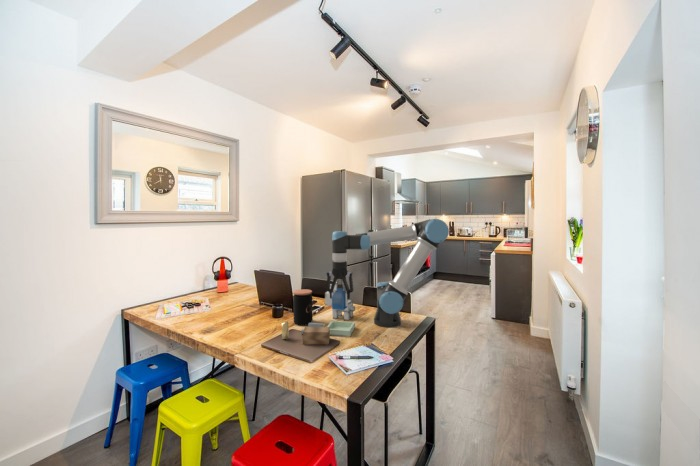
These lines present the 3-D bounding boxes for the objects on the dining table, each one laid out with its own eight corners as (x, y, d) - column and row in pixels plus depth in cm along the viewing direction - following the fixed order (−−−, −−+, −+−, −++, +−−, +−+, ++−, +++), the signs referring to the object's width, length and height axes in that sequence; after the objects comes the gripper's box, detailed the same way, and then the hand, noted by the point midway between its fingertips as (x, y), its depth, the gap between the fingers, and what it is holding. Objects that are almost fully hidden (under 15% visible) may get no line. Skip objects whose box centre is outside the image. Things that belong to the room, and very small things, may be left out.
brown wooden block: (329, 338, 144) (329, 326, 144) (328, 344, 137) (328, 332, 137) (305, 339, 144) (305, 327, 144) (302, 345, 137) (302, 332, 137)
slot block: (323, 328, 158) (323, 323, 158) (316, 336, 147) (316, 331, 147) (309, 327, 160) (309, 322, 160) (301, 335, 148) (301, 330, 148)
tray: (354, 327, 158) (354, 322, 158) (349, 336, 146) (349, 330, 146) (331, 326, 161) (331, 320, 161) (324, 335, 148) (324, 329, 148)
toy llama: (351, 321, 169) (351, 286, 168) (325, 317, 176) (324, 284, 176) (356, 317, 176) (356, 284, 175) (331, 314, 183) (330, 282, 182)
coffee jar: (308, 326, 161) (308, 293, 160) (290, 325, 163) (290, 293, 163) (315, 320, 171) (314, 289, 171) (297, 319, 174) (297, 288, 173)
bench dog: (289, 337, 145) (289, 321, 145) (287, 340, 142) (286, 324, 142) (283, 337, 146) (283, 321, 145) (280, 339, 143) (280, 323, 142)
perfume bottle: (347, 306, 155) (347, 284, 155) (343, 310, 149) (343, 286, 149) (336, 305, 157) (336, 283, 157) (332, 309, 151) (332, 285, 151)
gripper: (359, 260, 154) (359, 304, 155) (323, 259, 158) (324, 302, 159) (356, 262, 147) (357, 308, 147) (319, 261, 151) (319, 306, 151)
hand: (339, 305), depth 153 cm, fingers closed on perfume bottle, 7 cm apart
